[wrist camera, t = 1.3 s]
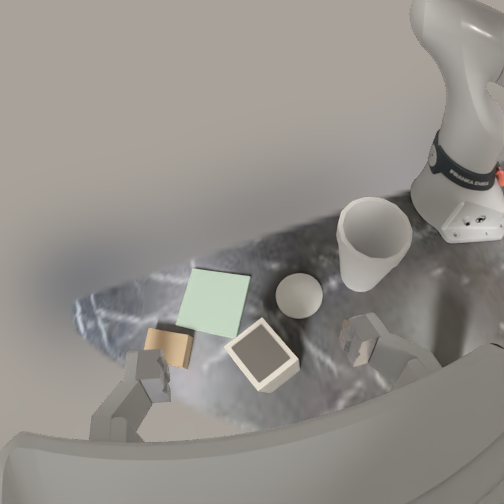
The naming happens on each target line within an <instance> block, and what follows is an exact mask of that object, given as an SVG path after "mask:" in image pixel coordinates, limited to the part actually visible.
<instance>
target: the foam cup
mask: <svg viewBox="0 0 504 504" xmlns="http://www.w3.org/2000/svg"><path fill="white" fill-rule="evenodd" d="M412 232H413V230H412V228H411V225H410V222H409V220H408V217H407V216H406V215H405V214H404V212H403V211H402V210H401V209H400V208H399V207H398V206H397V205H395V204H393V203H391V202H389V201H387V200H385V199H383V198H377V197H363V198H360V199H357V200H354V201H351V202H350V203H349V204H348V205H347V206H346V207H345V208H344V209H343V210H342V211H341V214H340V218H339V222H338V226H337V233H336V237H337V241H338V246H339V260H340V273H341V278H342V281H343V282H344V284H345V285H346V286H347V287H348V288H350V289H352V290H353V291H356V292H365V291H368V290H370V289H372V288H373V287H374V286H375V285H376V284H377V283H378V282H379V281H380V280H381V279H382V278H383V277H384V276H385V275H386V274H387V273H388V272H389V271H390V270H391V269H392V268H394V267H396V266H397V265H398V264H399V263H400V261H401V260H402V259H403V257H404V256H405V255H406V253H407V251H408V250H409V248H410V246H411V241H412Z"/></svg>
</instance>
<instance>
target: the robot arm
mask: <svg viewBox="0 0 504 504" xmlns="http://www.w3.org/2000/svg"><path fill="white" fill-rule="evenodd" d="M410 22H411V26H412V30H413V32H414V34H415V36H416V38H417V40H418V41H419V43H420V44H421V45H422V47H424V49H425V50H426V51H427V52H428V53H429V54H430V55H431V56H432V58H433V59H434V61H435V62H436V64H437V65H438V67H439V69H440V71H441V74H442V76H443V79H444V82H445V87H446V106H445V112H444V117H443V121H442V125H441V128H440V129H439V130H438V131H437V133H436V136H435V139H434V141H433V144H432V146H431V149H430V153H429V158H428V162H427V164H426V166H425V167H424V169H423V171H422V172H421V173H420V175H419V176H418V177H417V178H416V179H415V180H414V182H413V183H412V186H411V199H412V202H413V204H414V207H415V208H416V210H417V211H418V213H419V214H420V215H421V217H422V218H423V219H424V220H425V221H427V222H428V223H429V224H430V225H432V226H433V227H434V228H436V229H437V230H438V232H439V233H440V234H441V236H442V237H443V239H444V240H445V241H446V242H448V243H463V242H477V241H491V240H501V239H502V237H503V235H504V195H503V192H502V189H501V187H500V186H504V172H503V171H500V168H499V166H500V165H499V162H498V159H499V157H500V155H501V153H502V151H503V149H504V112H503V111H502V109H501V108H500V106H499V105H498V104H497V103H496V101H495V100H494V99H493V98H492V97H491V95H489V93H488V91H487V90H486V84H487V82H489V81H491V82H495V83H496V84H498V85H500V86H502V87H504V13H502V12H500V11H498V10H496V9H494V8H492V7H490V6H487V5H485V4H483V3H481V2H479V1H476V0H413V2H412V5H411V8H410ZM495 176H496V177H495ZM454 235H455V236H456V237H455V236H454ZM342 325H343V327H344V328H343V330H342V331H341V332H340V336H339V338H340V344H341V347H342V349H343V350H344V351H346V352H347V353H348V356H347V358H348V359H349V361H350V363H351V365H352V366H353V367H356V366H360V365H363V364H367V363H368V364H369V365H371V366H372V367H374V368H375V369H377V370H378V371H379V372H381V373H382V374H384V375H385V376H387V377H388V378H390V379H391V380H393V381H394V382H396V384H395V386H394V387H393V389H392V391H391V392H389V393H386V394H384V395H381V396H379V397H376V398H374V399H371V400H368V401H365V402H363V403H360V404H357V405H354V406H351V407H348V408H345V409H342V410H339V411H336V412H332V413H329V414H326V415H322V416H319V417H315V418H312V419H308V420H304V421H300V422H296V423H292V424H288V425H283V426H279V427H274V428H270V429H265V430H260V431H254V432H249V433H243V434H236V435H230V436H223V437H215V438H207V439H197V440H185V441H170V442H169V441H168V442H144V441H143V440H142V439H141V437H140V436H139V435H138V434H137V433H136V431H137V429H138V428H139V426H140V424H141V423H142V421H143V419H144V417H145V416H146V414H147V412H148V411H149V409H150V407H151V406H152V403H161V402H171V397H170V387H169V385H168V383H169V381H170V373H169V367H168V364H167V361H166V360H165V359H164V353H163V350H162V349H151V350H134V351H128V353H127V357H126V365H125V374H124V381H120V383H119V384H118V385H117V386H116V388H115V389H114V390H113V391H112V392H111V393H110V395H109V396H108V397H107V398H106V399H105V401H104V402H103V403H102V404H101V405H100V407H99V408H98V409H97V410H96V411H95V413H94V414H93V415H92V419H91V427H90V437H89V440H79V439H70V438H62V437H54V436H48V435H41V434H36V433H31V432H20V433H18V434H17V435H16V436H14V437H13V438H12V440H10V441H9V442H8V443H7V444H6V446H4V447H3V449H2V450H1V451H0V504H504V349H502V348H500V347H498V346H495V345H493V344H490V343H487V344H484V345H482V346H480V347H479V348H477V349H475V350H474V351H472V352H470V353H469V354H467V355H465V356H463V357H462V358H460V359H458V360H456V361H454V362H453V363H451V364H449V365H447V366H445V367H443V368H442V366H441V365H440V364H439V362H438V361H437V360H436V358H435V357H434V356H433V354H432V353H431V352H430V351H429V350H427V349H425V348H422V347H420V346H418V345H416V344H414V343H412V342H410V341H408V340H406V339H404V338H402V337H399V336H397V335H395V334H393V333H392V334H390V333H389V331H388V330H387V329H386V327H385V326H384V325H383V323H382V322H381V321H380V319H379V318H378V317H377V315H376V314H375V313H374V312H370V313H366V314H363V315H358V316H354V317H350V318H346V319H345V320H344V321H343V324H342Z"/></svg>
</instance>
